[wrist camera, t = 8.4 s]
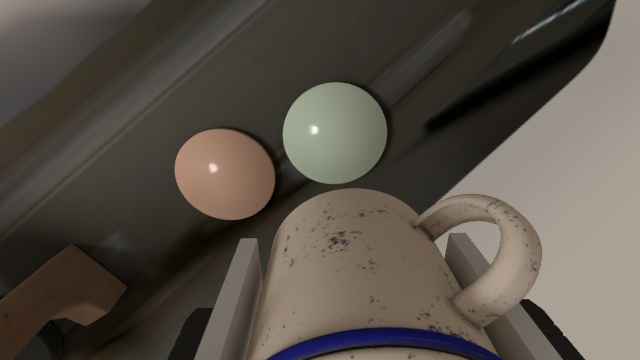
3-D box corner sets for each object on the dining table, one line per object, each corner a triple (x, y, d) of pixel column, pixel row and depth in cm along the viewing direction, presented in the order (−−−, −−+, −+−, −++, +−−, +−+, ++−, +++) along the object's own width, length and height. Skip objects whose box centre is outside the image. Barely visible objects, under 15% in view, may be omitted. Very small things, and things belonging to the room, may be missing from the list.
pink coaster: (189, 217, 36) (186, 221, 36) (167, 129, 32) (163, 131, 31) (279, 214, 36) (278, 218, 36) (270, 126, 32) (269, 128, 31)
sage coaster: (287, 182, 35) (286, 185, 34) (279, 83, 30) (278, 84, 29) (382, 179, 35) (383, 182, 34) (388, 79, 30) (390, 80, 29)
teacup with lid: (357, 333, 19) (402, 687, 9) (237, 265, 17) (99, 634, 6) (512, 207, 15) (937, 576, 5) (383, 94, 13) (654, 330, 2)
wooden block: (129, 286, 41) (6, 448, 25) (107, 300, 42) (-25, 465, 26) (73, 241, 38) (-112, 394, 21) (51, 258, 39) (-142, 416, 22)
